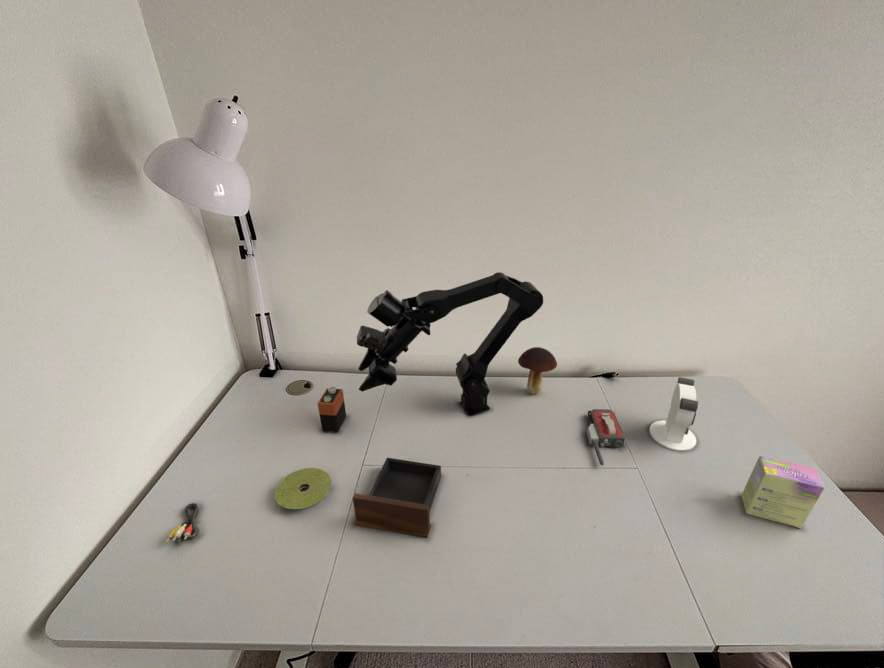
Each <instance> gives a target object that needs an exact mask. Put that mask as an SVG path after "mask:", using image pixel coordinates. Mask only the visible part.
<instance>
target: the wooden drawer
mask: <svg viewBox="0 0 884 668" xmlns="http://www.w3.org/2000/svg"><path fill="white" fill-rule="evenodd" d="M441 479H442V466H441V465H439V464H432V463H424V462H419V461H412V460H405V459H400V458H393V457H386V459H385V461H384V462H383V465H382V467H381V468H380V471H379V472H378V475H377V477H376V479H375V480H374V483H373V485H372V487H371V489H370V491H369V493H368V494H363V493H357V492H354V494H353V496H352V503H353V509H354V515H355V516H354V517H355V521H354V523H353V524H354V526H357V527H362V528H368V529H375V530H379V531H385V532H389V533H397V534H401V535H408V536H413V537H419V538H425V539H428V537H429V534H430V531H431V528H432V524H431V521H430V517H431V516H430V512H431V509H432V506H433V503H434V500H435V497H436V493H437V492H438V491H437V490H438V488H439V484H440V481H441Z"/></svg>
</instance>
